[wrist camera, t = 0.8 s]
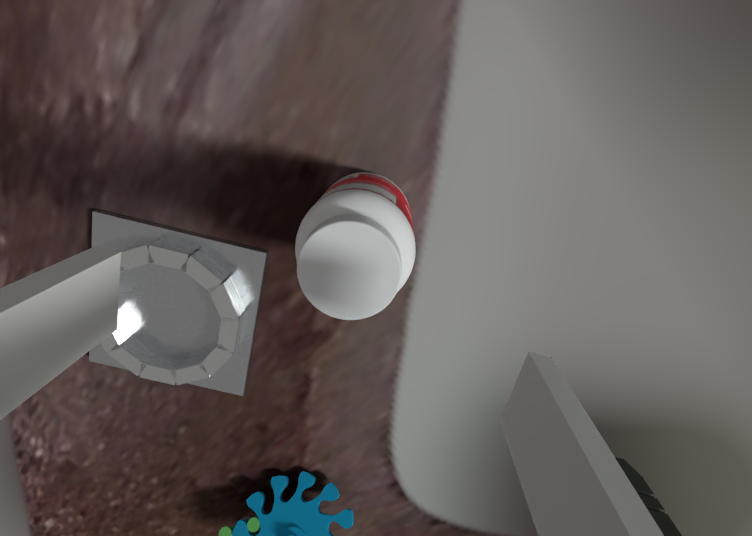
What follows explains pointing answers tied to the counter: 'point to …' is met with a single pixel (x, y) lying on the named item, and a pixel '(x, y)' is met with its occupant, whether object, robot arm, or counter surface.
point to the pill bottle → (355, 247)
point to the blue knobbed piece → (290, 512)
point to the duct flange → (181, 304)
